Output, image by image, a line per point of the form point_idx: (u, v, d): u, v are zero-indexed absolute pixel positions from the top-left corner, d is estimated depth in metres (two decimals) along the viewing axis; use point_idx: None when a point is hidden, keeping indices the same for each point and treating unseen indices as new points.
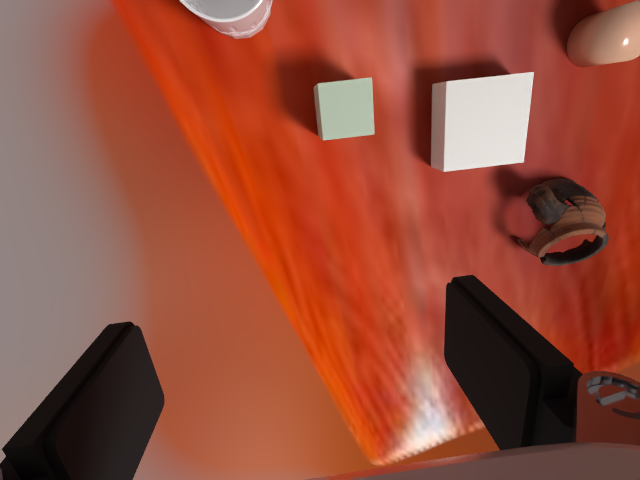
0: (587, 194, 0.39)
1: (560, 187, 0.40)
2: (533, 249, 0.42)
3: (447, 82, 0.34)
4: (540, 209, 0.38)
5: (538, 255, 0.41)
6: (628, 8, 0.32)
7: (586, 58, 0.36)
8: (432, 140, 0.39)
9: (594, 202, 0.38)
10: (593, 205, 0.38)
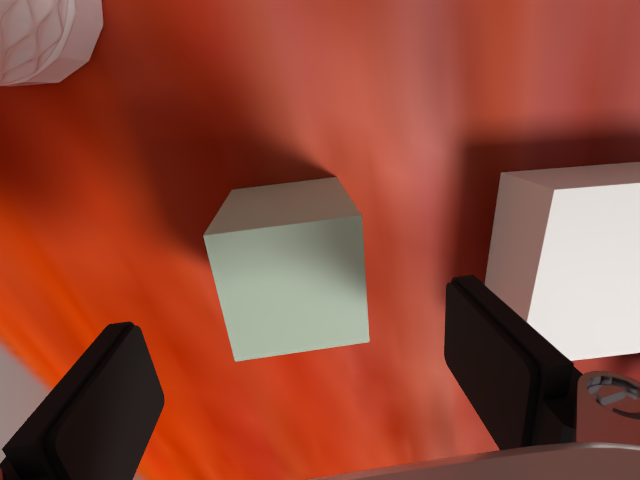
0: None
1: None
2: None
3: (555, 192, 0.14)
4: None
5: None
6: None
7: None
8: (489, 281, 0.19)
9: None
10: None
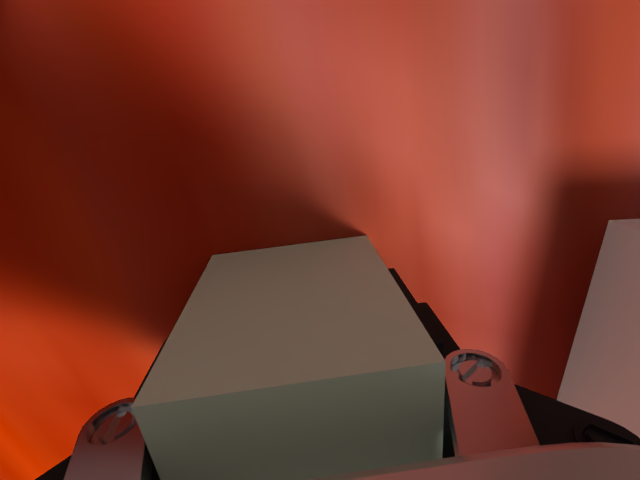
0: None
1: None
2: None
3: None
4: None
5: None
6: None
7: None
8: (574, 367, 0.13)
9: None
10: None
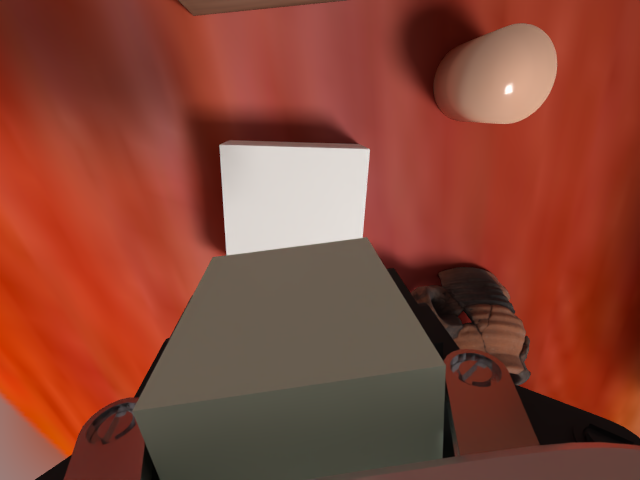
0: (496, 301, 0.25)
1: (458, 288, 0.26)
2: None
3: (221, 146, 0.20)
4: None
5: None
6: (501, 36, 0.18)
7: (456, 113, 0.22)
8: None
9: (505, 317, 0.24)
10: (502, 323, 0.24)
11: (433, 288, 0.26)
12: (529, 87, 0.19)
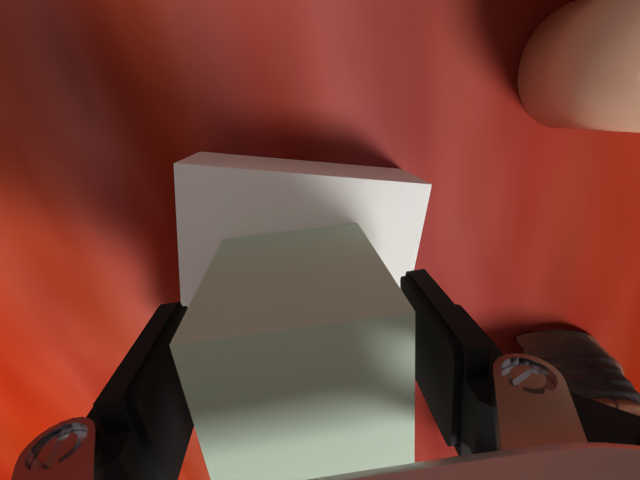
0: (620, 393, 0.16)
1: (556, 368, 0.17)
2: None
3: (176, 166, 0.11)
4: None
5: None
6: None
7: (564, 115, 0.13)
8: None
9: None
10: None
11: None
12: None
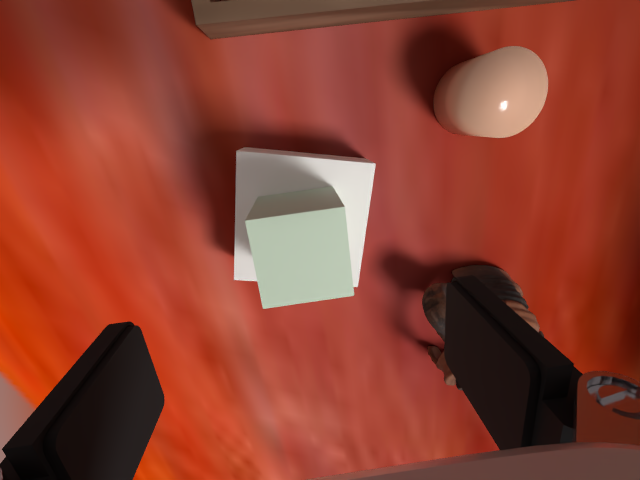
0: (510, 297, 0.26)
1: None
2: None
3: (238, 152, 0.22)
4: (434, 327, 0.25)
5: (446, 383, 0.28)
6: (495, 58, 0.19)
7: (455, 127, 0.23)
8: None
9: (518, 312, 0.25)
10: None
11: None
12: (522, 104, 0.20)
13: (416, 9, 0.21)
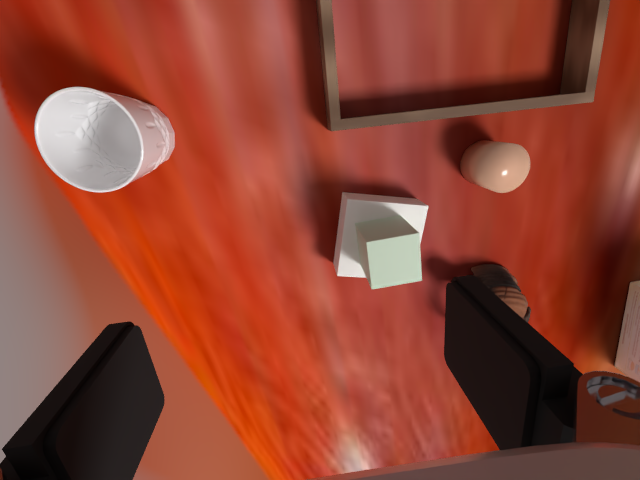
0: (509, 284, 0.41)
1: (485, 277, 0.42)
2: None
3: (348, 200, 0.36)
4: None
5: None
6: (500, 149, 0.34)
7: (474, 182, 0.38)
8: (336, 241, 0.41)
9: (514, 294, 0.40)
10: (513, 297, 0.40)
11: None
12: (515, 174, 0.35)
13: None
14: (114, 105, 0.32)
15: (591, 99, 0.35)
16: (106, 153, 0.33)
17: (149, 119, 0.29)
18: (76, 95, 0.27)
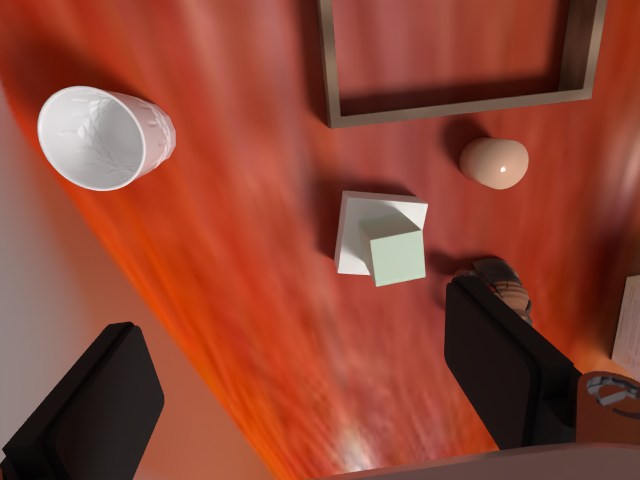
0: (510, 278, 0.41)
1: (486, 271, 0.42)
2: None
3: (348, 198, 0.37)
4: None
5: None
6: (498, 146, 0.35)
7: (473, 179, 0.39)
8: (337, 238, 0.42)
9: (516, 287, 0.41)
10: (514, 291, 0.40)
11: (471, 271, 0.42)
12: (513, 170, 0.36)
13: None
14: (115, 104, 0.32)
15: (589, 96, 0.35)
16: (108, 151, 0.34)
17: (151, 118, 0.30)
18: (78, 94, 0.27)
